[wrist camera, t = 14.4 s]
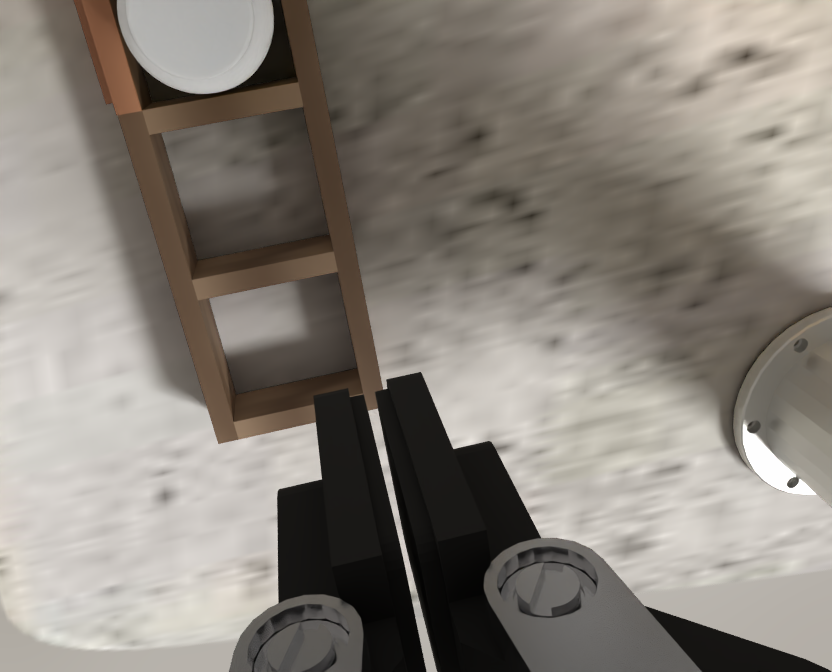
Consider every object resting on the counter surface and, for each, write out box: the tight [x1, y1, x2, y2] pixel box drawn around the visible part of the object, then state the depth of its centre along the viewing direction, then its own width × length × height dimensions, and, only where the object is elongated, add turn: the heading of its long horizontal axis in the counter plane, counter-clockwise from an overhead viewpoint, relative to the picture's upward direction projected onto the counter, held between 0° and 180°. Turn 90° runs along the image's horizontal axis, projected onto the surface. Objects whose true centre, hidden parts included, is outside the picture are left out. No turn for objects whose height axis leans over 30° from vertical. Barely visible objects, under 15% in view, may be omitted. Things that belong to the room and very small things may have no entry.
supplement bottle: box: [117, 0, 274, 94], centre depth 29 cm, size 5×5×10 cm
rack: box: [74, 0, 383, 444], centre depth 35 cm, size 9×24×3 cm, turn 9°
